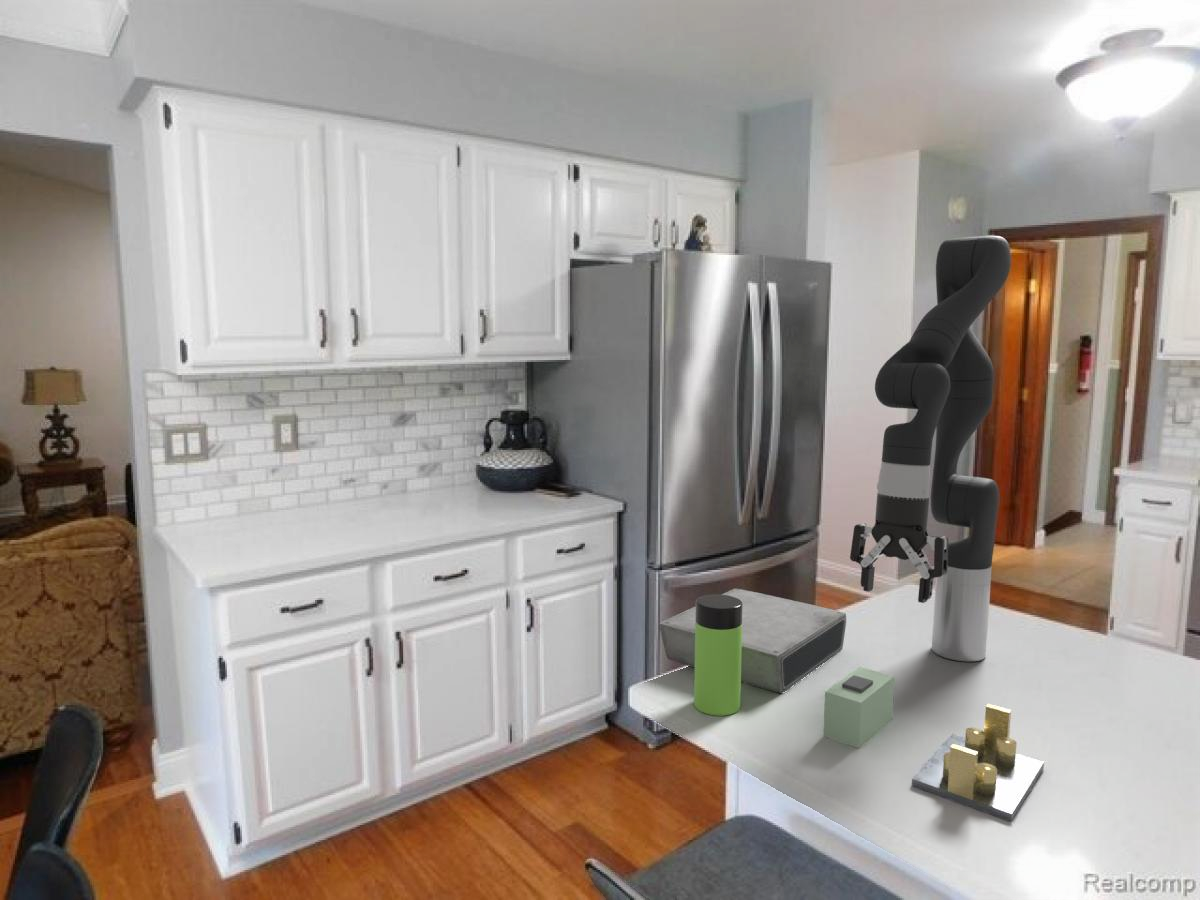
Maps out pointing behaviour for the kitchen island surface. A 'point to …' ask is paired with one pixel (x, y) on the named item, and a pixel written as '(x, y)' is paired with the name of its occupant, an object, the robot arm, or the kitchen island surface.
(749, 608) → the speaker
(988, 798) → the metal plate
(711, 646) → the tumbler
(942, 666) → the kitchen island surface
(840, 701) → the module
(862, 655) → the kitchen island surface
